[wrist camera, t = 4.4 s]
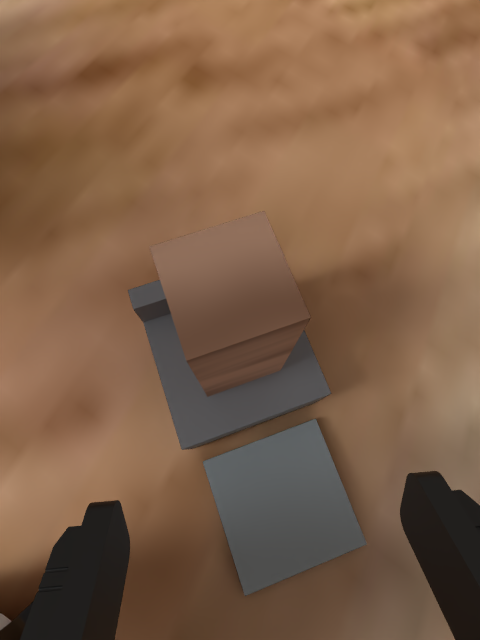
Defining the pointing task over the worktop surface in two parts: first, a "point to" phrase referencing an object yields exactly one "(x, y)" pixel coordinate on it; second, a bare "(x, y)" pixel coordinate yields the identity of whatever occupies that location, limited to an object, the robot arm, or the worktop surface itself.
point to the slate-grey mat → (282, 506)
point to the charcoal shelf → (230, 405)
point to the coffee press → (13, 625)
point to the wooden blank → (231, 301)
